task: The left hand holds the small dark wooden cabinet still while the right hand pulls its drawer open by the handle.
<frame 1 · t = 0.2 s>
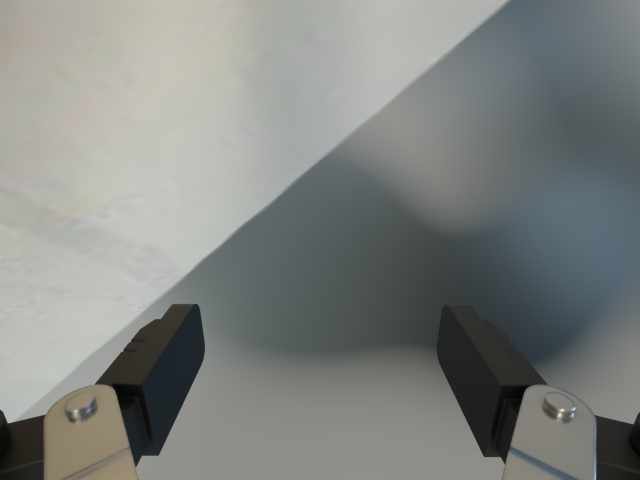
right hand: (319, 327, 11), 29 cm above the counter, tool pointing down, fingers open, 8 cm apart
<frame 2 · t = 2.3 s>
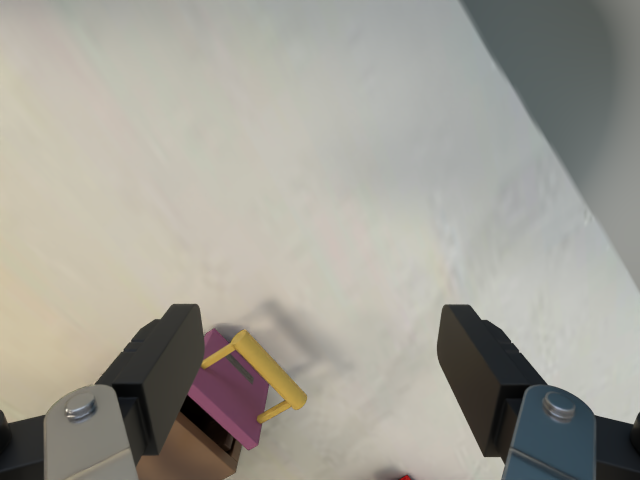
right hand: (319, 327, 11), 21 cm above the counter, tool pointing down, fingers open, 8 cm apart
drawer: (196, 405, 34), point 5 cm above the counter, slide at 1.7 cm
cabinet: (170, 397, 40), on the counter
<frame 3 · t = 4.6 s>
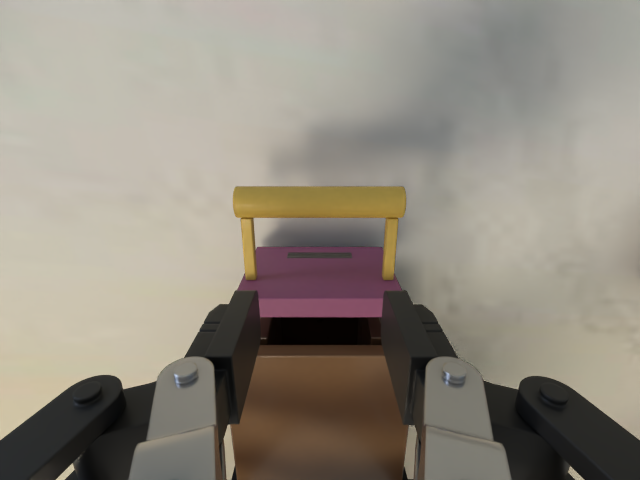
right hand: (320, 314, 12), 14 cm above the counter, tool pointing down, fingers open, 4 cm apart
drawer: (319, 334, 23), point 5 cm above the counter, slide at 1.7 cm
cabinet: (319, 362, 30), on the counter, touching left hand
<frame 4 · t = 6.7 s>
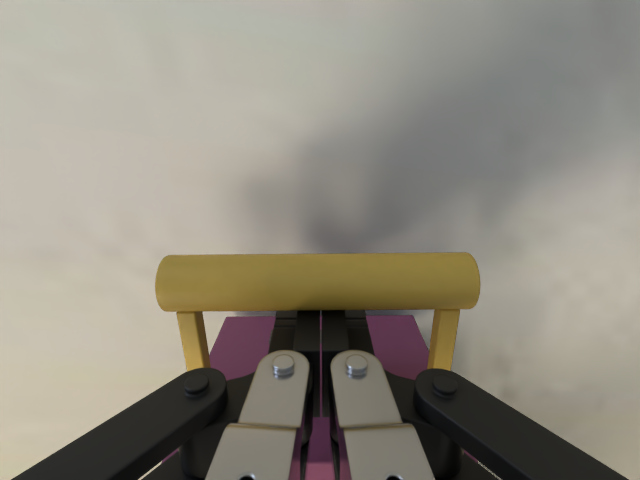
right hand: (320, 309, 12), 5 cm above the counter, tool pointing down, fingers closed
drawer: (320, 459, 15), point 5 cm above the counter, slide at 2.1 cm, touching right hand
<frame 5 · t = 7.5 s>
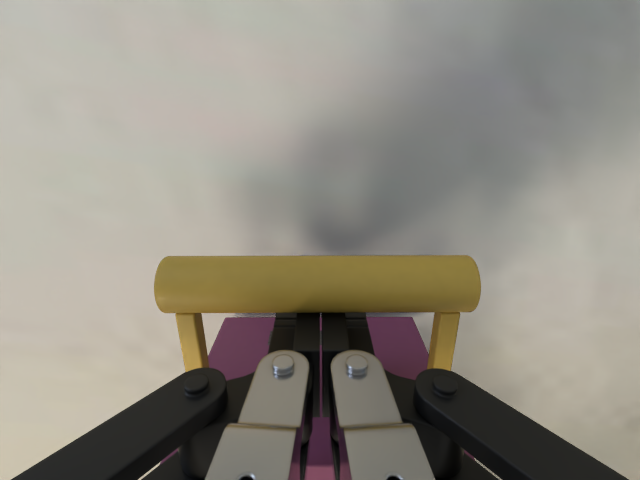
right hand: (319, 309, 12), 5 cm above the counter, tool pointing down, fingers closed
drawer: (319, 461, 15), point 5 cm above the counter, slide at 7.8 cm, touching right hand
when the left hand's fingers open (4 cm above the counter, at t = 9.5 s): cabinet stays where it is, on the counter.
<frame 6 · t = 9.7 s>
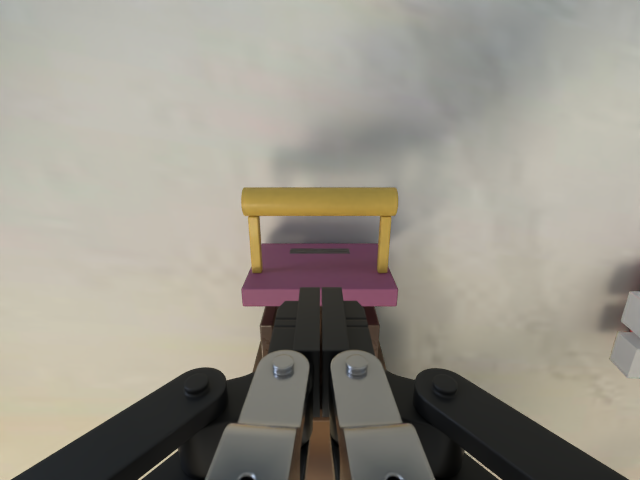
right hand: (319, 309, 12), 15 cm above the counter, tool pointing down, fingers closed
drawer: (319, 324, 25), point 5 cm above the counter, slide at 7.8 cm
cabinet: (319, 404, 34), on the counter
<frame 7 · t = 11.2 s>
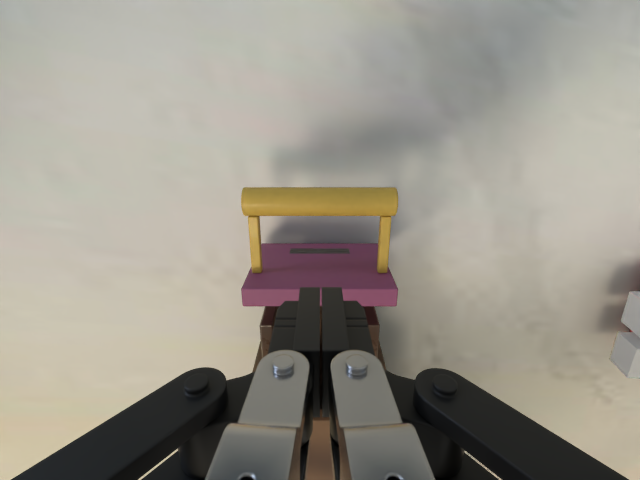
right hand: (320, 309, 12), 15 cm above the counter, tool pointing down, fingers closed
drawer: (319, 324, 25), point 5 cm above the counter, slide at 7.8 cm
cabinet: (319, 404, 34), on the counter
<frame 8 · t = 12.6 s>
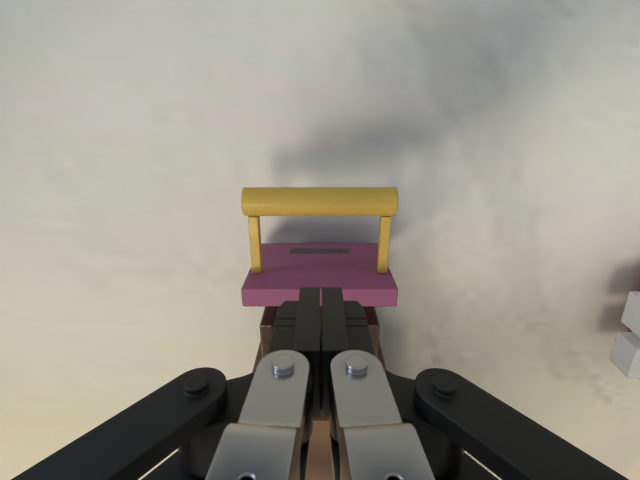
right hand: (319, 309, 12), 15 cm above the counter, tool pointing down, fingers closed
drawer: (319, 324, 25), point 5 cm above the counter, slide at 7.8 cm
cabinet: (319, 404, 34), on the counter
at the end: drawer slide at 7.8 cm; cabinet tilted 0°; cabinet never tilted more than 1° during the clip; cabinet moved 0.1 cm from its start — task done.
